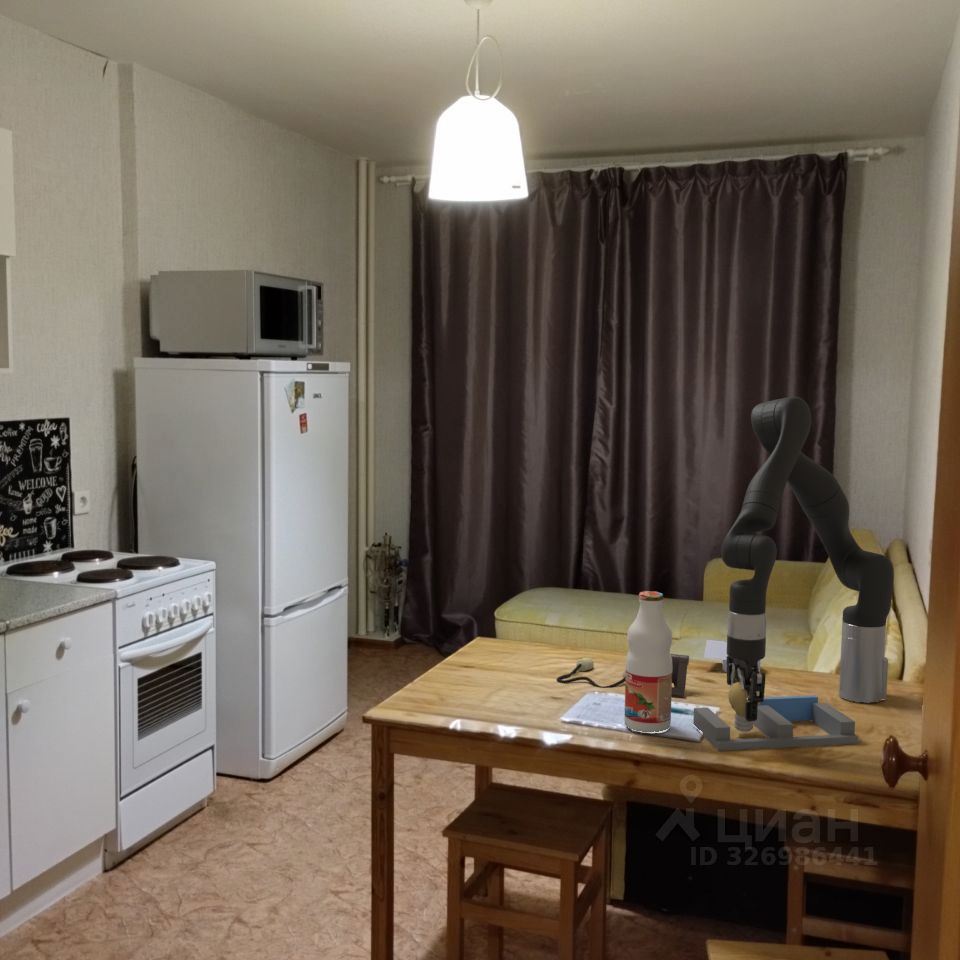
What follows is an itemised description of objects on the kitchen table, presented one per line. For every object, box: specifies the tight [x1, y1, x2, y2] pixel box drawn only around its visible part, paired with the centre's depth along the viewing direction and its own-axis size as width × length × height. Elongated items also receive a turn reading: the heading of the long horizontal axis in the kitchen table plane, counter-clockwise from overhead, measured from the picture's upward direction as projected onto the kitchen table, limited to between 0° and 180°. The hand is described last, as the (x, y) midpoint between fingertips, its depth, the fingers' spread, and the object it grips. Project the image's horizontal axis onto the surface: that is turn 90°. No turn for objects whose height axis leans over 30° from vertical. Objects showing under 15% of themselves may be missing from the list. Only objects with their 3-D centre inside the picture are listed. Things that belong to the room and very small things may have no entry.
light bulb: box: [727, 682, 760, 733], centre depth 211 cm, size 6×6×10 cm
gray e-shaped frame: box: [692, 694, 859, 752], centre depth 212 cm, size 29×15×5 cm, turn 99°
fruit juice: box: [623, 590, 673, 732], centre depth 214 cm, size 9×9×28 cm
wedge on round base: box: [702, 639, 762, 673], centre depth 258 cm, size 9×7×13 cm
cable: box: [555, 657, 626, 689], centre depth 248 cm, size 16×16×4 cm
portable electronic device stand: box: [670, 653, 690, 698], centre depth 239 cm, size 9×8×8 cm
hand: (744, 714), depth 211 cm, fingers closed on light bulb, 6 cm apart
